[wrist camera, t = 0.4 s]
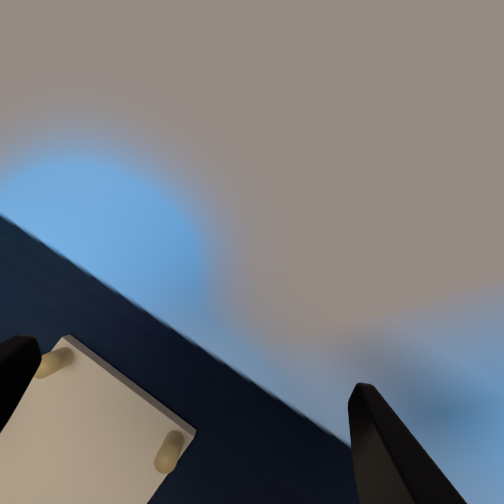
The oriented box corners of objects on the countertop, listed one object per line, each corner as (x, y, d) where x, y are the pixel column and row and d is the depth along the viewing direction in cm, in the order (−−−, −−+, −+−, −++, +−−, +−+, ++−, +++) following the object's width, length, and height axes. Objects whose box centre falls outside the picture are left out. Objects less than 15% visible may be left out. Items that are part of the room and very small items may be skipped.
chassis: (196, 430, 23) (187, 458, 19) (96, 569, 22) (68, 625, 19) (70, 334, 23) (38, 345, 20) (-33, 468, 22) (-85, 504, 19)
